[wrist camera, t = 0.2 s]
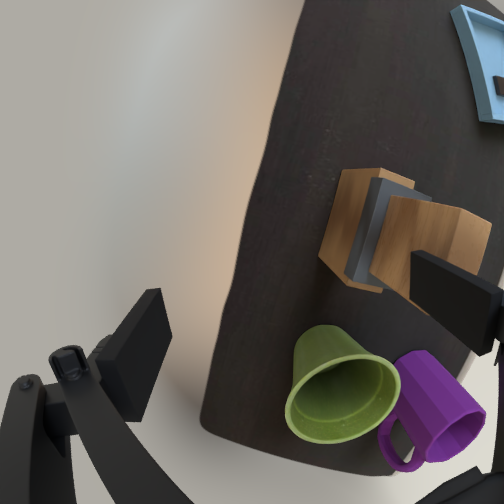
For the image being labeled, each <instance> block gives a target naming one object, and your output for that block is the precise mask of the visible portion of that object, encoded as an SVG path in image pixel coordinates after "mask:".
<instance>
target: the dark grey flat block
mask: <svg viewBox="0 0 504 504" xmlns="http://www.w3.org/2000/svg"><path fill="white" fill-rule="evenodd" d="M493 81H494V85H495V90H496V94H497V95H498V96H503V97H504V77H500V76H497V75H496V76H493Z"/></svg>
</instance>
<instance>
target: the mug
mask: <svg viewBox="0 0 504 504" xmlns="http://www.w3.org/2000/svg"><path fill="white" fill-rule="evenodd" d="M393 366H394V367H395V368H396V370H397V371H398V373H399V376H400V381H401V388H400V393H399V397H398V400H397V402H396V404H395V406H394V407H393V409H392V410H391V412H390V413H389V414H388V416H387V417H386V418H385V419H384V420H383V421H382V422H381V423H380V425H379V427H378V436H377V438H378V442H379V446H380V449H381V452H382V454H383V456H384V458H385V459H386V461H387V462H388V463H389V464H390V466H391V467H392V468H394V469H395V470H397V471H400V472H413V471H415V470H417V469H418V468H419V467H421V466H422V464H423V463H424V461H426V462H429V463H433V462H443V461H446V460H449V459H450V458H452V457H453V456H455V455H457V454H458V453H460V452H461V451H463V450H464V449H465V448H466V447H467V446H468V445H469V444H470V443H471V442H472V441H473V440H474V439H475V438H476V437H477V435H478V434H479V432H480V431H481V429H482V428H483V426H484V424H485V418H486V412H485V411H484V410H483V408H482V407H481V406H480V405H479V404H478V403H477V402H476V401H475V400H474V398H472V396H471V395H470V394H469V393H468V392H467V391H466V390H465V389H464V388H463V387H462V386H461V385H460V383H459V382H458V381H457V380H456V379H455V378H454V377H453V376H452V375H451V374H450V373H449V372H448V371H447V370H446V369H445V368H444V367H443V366H442V365H441V364H440V363H439V362H438V361H437V360H436V359H435V357H433V356H432V355H431V354H430V353H428V352H427V351H426V350H419V351H411V352H409V353H408V354H406V355H404V356H402V357H400V358H399V359H398V360H397V361H396V362H395V363H394V364H393ZM396 419H399V420H400V422H401V424H402V425H403V427H404V429H405V431H406V432H407V434H408V436H409V437H410V439H411V441H412V443H413V444H414V446H415V449H414V452H413V455H412V458H411V460H410V461H409V462H408V463H405V462H404V461H402V460H401V458H400V457H399V456H398V455H397V453H396V451H395V449H394V447H393V445H392V442H391V439H390V433H391V428H392V426H393V423H394V421H395V420H396Z"/></svg>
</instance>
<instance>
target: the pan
mask: <svg viewBox="0 0 504 504" xmlns="http://www.w3.org/2000/svg"><path fill="white" fill-rule="evenodd" d="M450 13H451V16H452V19H453V21H454V24H455V27H456V30H457V33H458V36H459V39H460V42H461V45H462V48H463V52H464V55H465V59H466V62H467V66H468V70H469V74H470V78H471V82H472V86H473V91H474V95H475V100H476V105H477V111H478V116H479V121H483V122H491V123H498V124H504V97H503V96H498V95H497V94H496V90H495V85H494V81H493V76H496V75H497V76H500V77H504V22H503V21H501V20H499V19H497V18H494V17H492V16H490V15H487V14H485V13H482V12H480V11H477V10H474V9H472V8H469V7H466V6H463V5H459V6H458V7H456V8H455V9H453V10H452V11H450Z"/></svg>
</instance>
